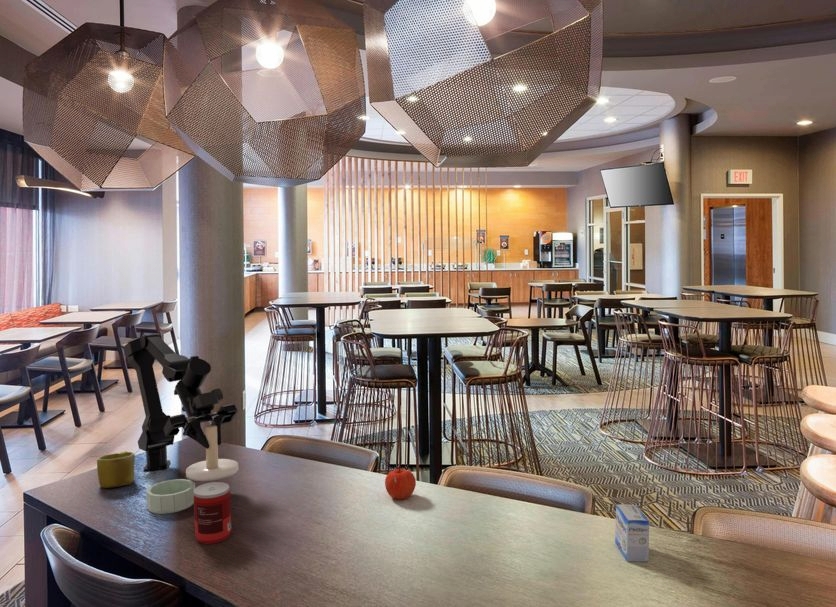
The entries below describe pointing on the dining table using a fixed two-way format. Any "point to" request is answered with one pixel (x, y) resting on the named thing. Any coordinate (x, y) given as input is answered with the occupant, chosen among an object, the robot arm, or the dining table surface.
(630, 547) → the medicine box
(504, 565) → the dining table surface
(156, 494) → the bowl
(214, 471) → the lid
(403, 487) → the apple
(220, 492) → the canned food
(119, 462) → the mug
